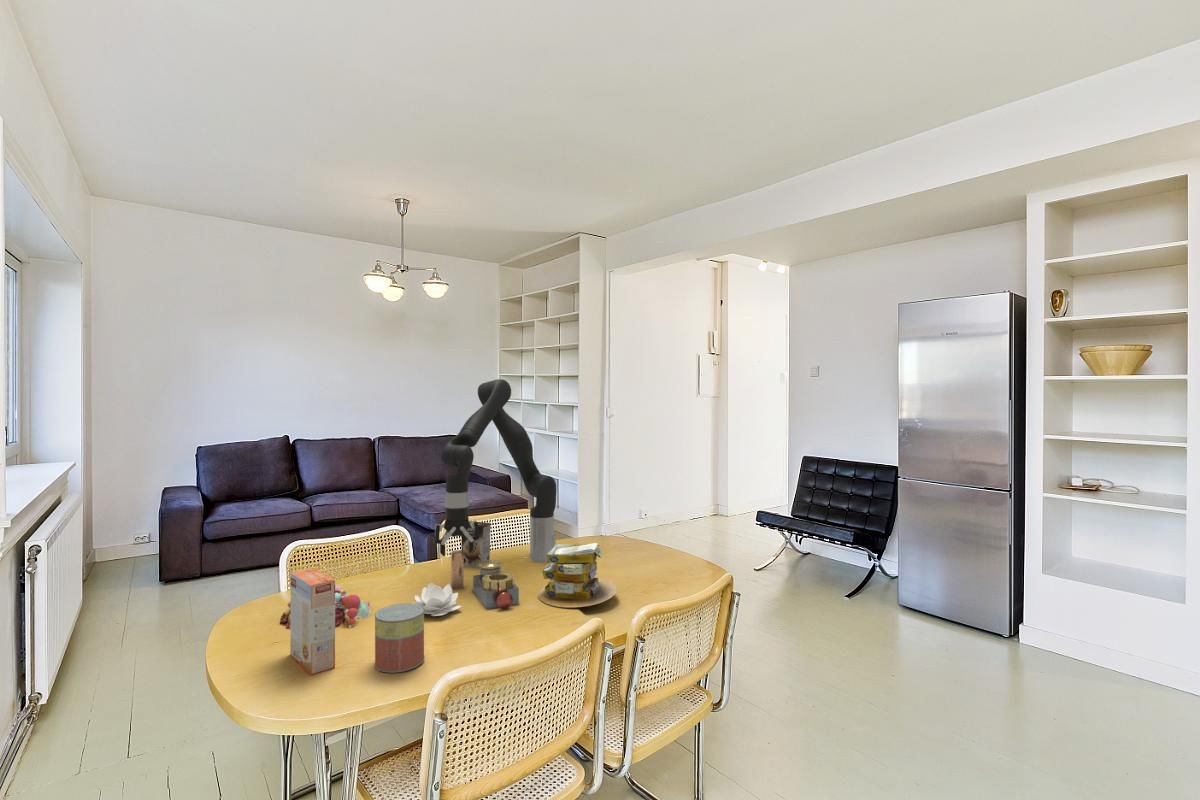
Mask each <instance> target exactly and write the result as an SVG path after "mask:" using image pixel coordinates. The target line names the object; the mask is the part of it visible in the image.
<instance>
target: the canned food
mask: <svg viewBox="0 0 1200 800" xmlns="http://www.w3.org/2000/svg"><path fill="white" fill-rule="evenodd" d="M424 624H425V614H424V608H423V607H422V606H421V605H418V604H417V603H415V604H414V603H409V602H408V603H397V604H391V605H388V606H384V607H382V608H380V609H377V611H376V612H374V667H375V669H376V670H377V671H379V672H383V673H389V674H390V673H402V672H408V671H410V670H413V669H415V668H417V667H419V666H420V665H422V664H423V662H425V625H424Z"/></svg>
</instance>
